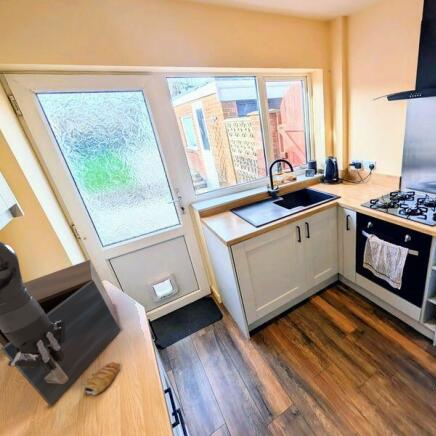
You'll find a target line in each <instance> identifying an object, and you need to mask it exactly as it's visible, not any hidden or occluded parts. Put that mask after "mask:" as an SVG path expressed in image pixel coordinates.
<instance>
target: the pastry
mask: <svg viewBox="0 0 436 436" xmlns="http://www.w3.org/2000/svg"><path fill="white" fill-rule="evenodd" d="M119 369H120V365H119V364H118V363H117V362H115V361H112V362H109V363H107V364H106V365H103V366H102V367H101V368H98V370H97V371H96V372H93V373H92V374H91V376H90V377H88V378H87V379H86V381H85V384H83V386H82V391H83V392H86V393H87V395H89V394H90V395H91V394H92V396H97V395H98V394H101V393H102V392H104V391H105V390H106V389H107V387H108V386H109V385H110V384H111V383H112V382H113V380H114V379H115V377H116V375H117V374H118V372H119Z"/></svg>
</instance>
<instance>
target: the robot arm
mask: <svg viewBox="0 0 436 436" xmlns="http://www.w3.org/2000/svg"><path fill="white" fill-rule="evenodd" d="M21 272H22V271H21V266H20V262H19V256H18V255H17V252H16V251H15V249H14V248H13V247H11V245H9V244H8V243H5V242H4V241H0V330H1V331H2V332H3V334H4V335H5V336H6V337H7V339H8V340H9V341H10V342H11V343H12V344H13V345H14V346H15V347H16V353H17V355H16V357H15V359H14V360H12V361H10V360H9V362H8V363H7V366H8V367H13V368H16V367H24V368H39V367H40V366H41V367H42V368H43V369H44V370H45V371H51V370H55V369H56V368H57V367H56V365H55V364H54V363H53V361H52V360H51V359H49V357H48V355H47V354H46V353H47V351H46V349H47V350H48V351H50V352H49V353H50V354H51V356H52V357H53V358H54V360H55V361H56V362H62V361H63V360H64V353H63V352H62V351H61V349H60V345H61V344H62V343H64V341H65V321H55V322H54V323H51V321H50V319H49V318H48V316H47V315H46V314H45V312H44V311H43V309H42V308H41V306H40V305H39V303H38V302H37V301H36V300H35V299H34V298H33V297H32V295H31V294H30V293H29V291H28V290H27V288H26V287H25V285H24V284H23V283H24V281H23V276H22V273H21ZM45 348H46V349H45ZM24 354H29V355H30V356H31V357H33V358H34V360H35V361H27V358H26V357H25V356H24Z"/></svg>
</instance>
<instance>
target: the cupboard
mask: <svg viewBox="0 0 436 436" xmlns="http://www.w3.org/2000/svg"><path fill="white" fill-rule="evenodd" d="M90 281H94V282H95V284H96V286H97V288H98V290H99V292H100V293H101V295H102V297H103V299H104V301H105V303H106V304H107V306H108V308H109V310H110V312H111V314H112V316H113V317H114V319H115V321H116V323H117V325H118V327H119V322H118V317H117V312H116V307H115V304H114V303H113V301H112V299H111V296H110V295H109V293H108V291H107V289H106V287H105V286H104V283H103V281H102V280H101V278H100V276H99V274H98V272H97V270H96V268H95V266H94V264H93V262H92V261H91V259H87V260H85V261H81V262H78V263H76V264H74V265H70V266H68V267H65V268H62V269H59V270H56V271H54V272H53V271H52V272H51V273H48V274H45V275H43V276H39V277H37V278H33V279H31V280H29V281H25V282H23V284H24V285H25V287H26V288H27V290H28V291H29V293H30V294H31V295H32V297H33V298H34V299H35V300H36V301H37V302H38V303H39V305H40V306H41V308H42V309H43V311H44V312H45V314H47V313H49V312H50V311H51V310H53V309H54V308H55V307H57V306H58V305H59V304H61V303H62V302H63V301H65V300H66V299H67V298H69V297H70V296H71V295H73V294H74V293H75V292H77V291H78V290H79V289H81V288H82V287H83V286H85V285H86V284H87V283H89V282H90ZM119 328H120V327H119ZM9 342H10V341H9V340H8V339H7V337H6V336H5V335H4V334H3V332H2V331H1V330H0V345H1V346H2V347H4V346H5V345H6V344H8V343H9Z"/></svg>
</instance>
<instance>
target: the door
mask: <svg viewBox="0 0 436 436" xmlns="http://www.w3.org/2000/svg"><path fill="white" fill-rule="evenodd" d="M46 315H47V316H48V318H49V319H50V321H51V323H54V322H55V321H65V341H64V343H62V344H61V345H60V349H61V351H62V352H63V353H64V360H63V361H62V362H56V361H55V360H54V358H53V357H52V356H51V354H50V353H49V352H50V351H48V350H47V349H46V348H45V349H46V351H47V353H46V354H47V355H48V357H49V359H51V360H52V361H53V363H54V364H55V365H56V367H57V368H56V369H55V370H51V371H45V370H44V369H43V368H42V367H41V366H40V367H39V368H24V367H15V368H16V369H17V370H18V371H19V372H20V373H21V375H22V376H23V377H24V379H26V380H27V381H28V383H29V384H30V385H31V386H32V387H33V388H34V390H35V391H36V392H37V393H38V395H39V396H40V397H41V398H42V399H43V401H45V403H46V404H47V405H48V406H52V407H53V406H54V404H56V402H57V401H58V400H59V399H60V398H61V397H62V396H63V395H64V393H66V391H67V390H68V389H69V388H70V387H71V386H72V384H74V382H75V381H76V380H77V379H78V378H79V377H80V376H81V375H82V374H83V372H84V371H85V370H87V368H88V367H89V366H90V365H91V364H92V363H93V361H94V360H95V359H97V357H99V355H100V354H101V353H102V352H103V350H105V348H106V347H107V346H108V345H109V344H110V343H111V342H112V341H113V339H114V338H115V337H117V335H118V334H119V333H120V332H121V329H120V327H118V326H119V324H118V325H117V323H116V321H115V319H114V317H113V316H112V314H111V312H110V310H109V308H108V306H107V304H106V303H105V301H104V299H103V297H102V295H101V293H100V292H99V290H98V288H97V286H96V284H95V282H94V281H90V282H89V283H87V284H86V285H85V286H83V287H82V288H81V289H79V290H78V291H77V292H75V293H74V294H73V295H71V296H70V297H69V298H67V299H66V300H65V301H63V302H62V303H61V304H59V305H58V306H57V307H55V308H54V309H53V310H51V311H50V312H49V313H47V314H46ZM0 350H1V352H3V354H4V355H5V356H6V358H8V360H9V362H10V361H12V360H14V359H15V357H16V355H17V353H16V347H15V346H14V345H13V344H12V343H11V342H9V343H8V344H6V345H5V346H4V347H3V346H2V347H1V348H0ZM24 356H25V357H26V358H27V361H35V360H34V358H33V357H31V356H30V355H29V354H24Z"/></svg>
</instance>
